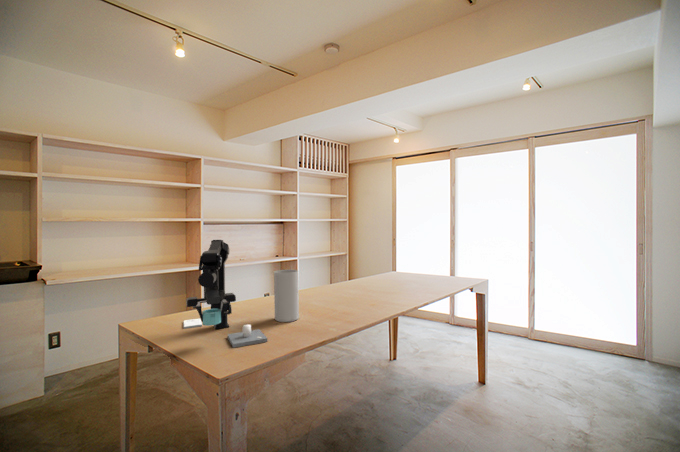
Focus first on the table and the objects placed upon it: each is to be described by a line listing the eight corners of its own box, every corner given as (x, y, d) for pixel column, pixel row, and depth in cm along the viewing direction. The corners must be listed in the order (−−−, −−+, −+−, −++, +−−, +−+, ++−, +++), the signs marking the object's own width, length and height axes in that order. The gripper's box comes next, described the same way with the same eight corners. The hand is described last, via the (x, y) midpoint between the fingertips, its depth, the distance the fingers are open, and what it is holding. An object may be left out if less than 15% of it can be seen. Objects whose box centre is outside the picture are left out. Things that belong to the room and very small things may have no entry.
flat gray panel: (227, 337, 147) (227, 324, 147) (259, 332, 153) (259, 319, 153) (233, 347, 135) (232, 333, 134) (267, 341, 141) (267, 327, 141)
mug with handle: (201, 322, 140) (201, 310, 140) (219, 319, 143) (219, 307, 143) (203, 327, 132) (203, 314, 132) (222, 324, 136) (222, 312, 136)
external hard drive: (183, 330, 160) (183, 323, 172) (202, 327, 164) (200, 321, 175) (183, 326, 160) (183, 320, 172) (202, 324, 164) (200, 318, 175)
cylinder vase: (294, 323, 167) (293, 273, 167) (270, 322, 169) (270, 272, 169) (302, 316, 179) (301, 269, 179) (280, 315, 182) (279, 269, 181)
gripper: (187, 288, 127) (188, 329, 127) (237, 283, 135) (238, 321, 135) (185, 283, 136) (186, 321, 137) (233, 279, 145) (233, 315, 145)
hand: (211, 320), depth 138 cm, fingers closed on mug with handle, 7 cm apart
